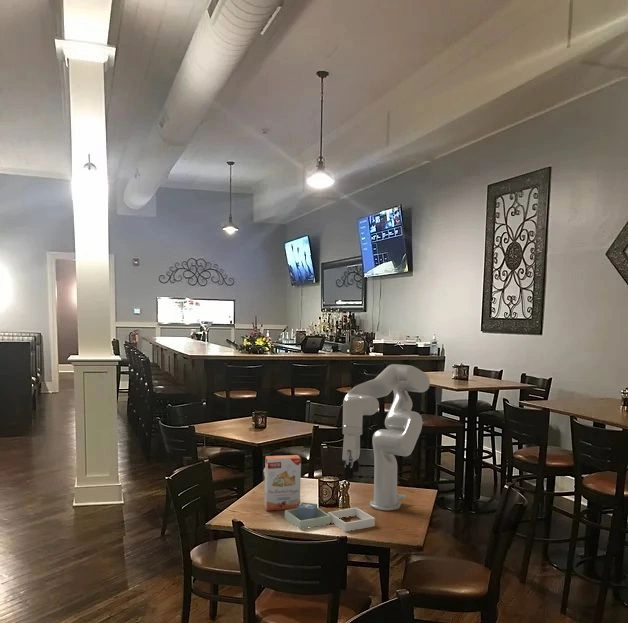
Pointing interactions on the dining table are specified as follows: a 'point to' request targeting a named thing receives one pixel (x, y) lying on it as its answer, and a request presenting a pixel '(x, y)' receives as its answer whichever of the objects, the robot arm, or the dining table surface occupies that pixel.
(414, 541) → the dining table surface
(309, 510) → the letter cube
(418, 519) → the dining table surface
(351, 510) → the white square tray
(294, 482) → the cracker box
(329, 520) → the sage square tray
